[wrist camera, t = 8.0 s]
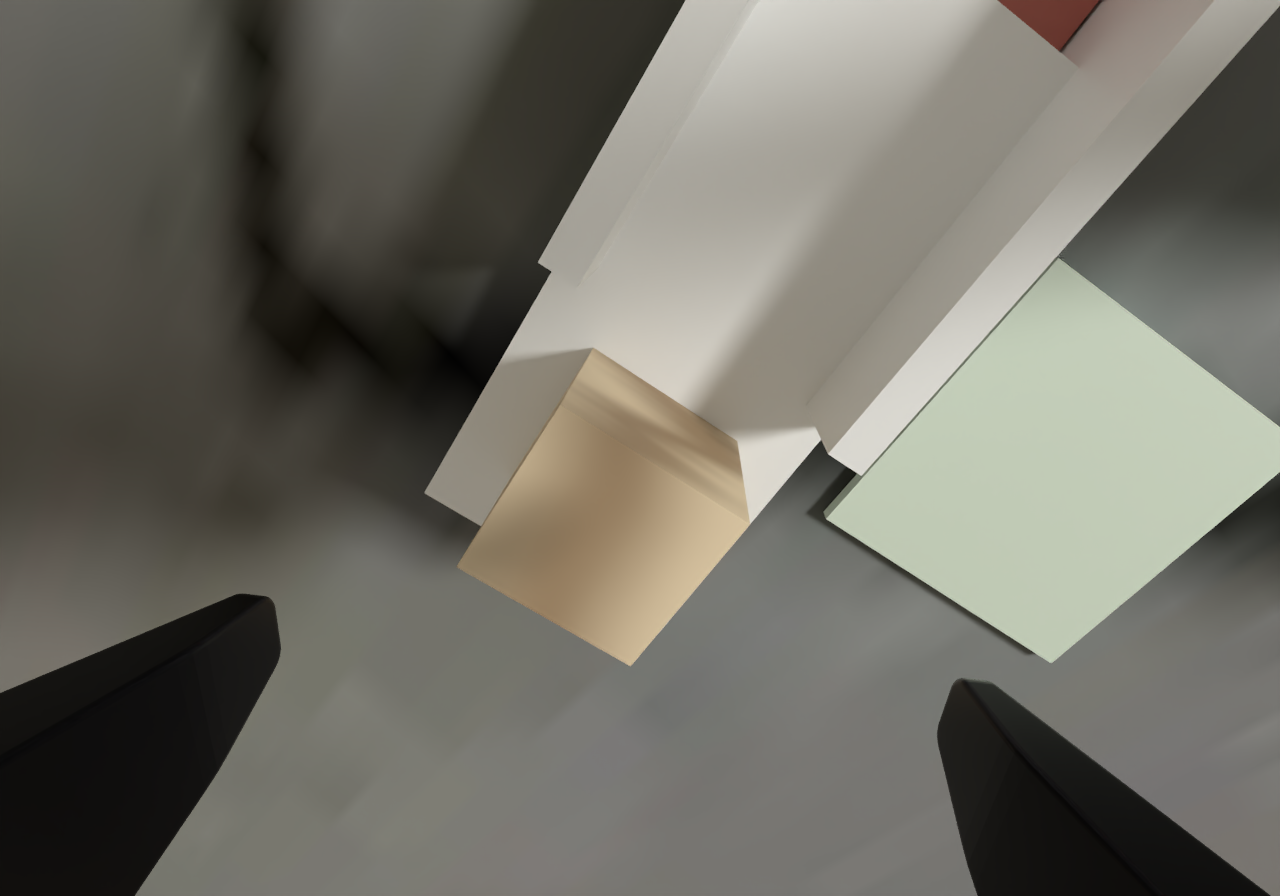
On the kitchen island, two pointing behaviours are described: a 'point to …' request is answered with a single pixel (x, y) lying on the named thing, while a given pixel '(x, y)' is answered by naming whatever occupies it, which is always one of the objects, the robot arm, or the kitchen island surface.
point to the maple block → (613, 511)
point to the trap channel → (836, 211)
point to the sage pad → (1060, 467)
